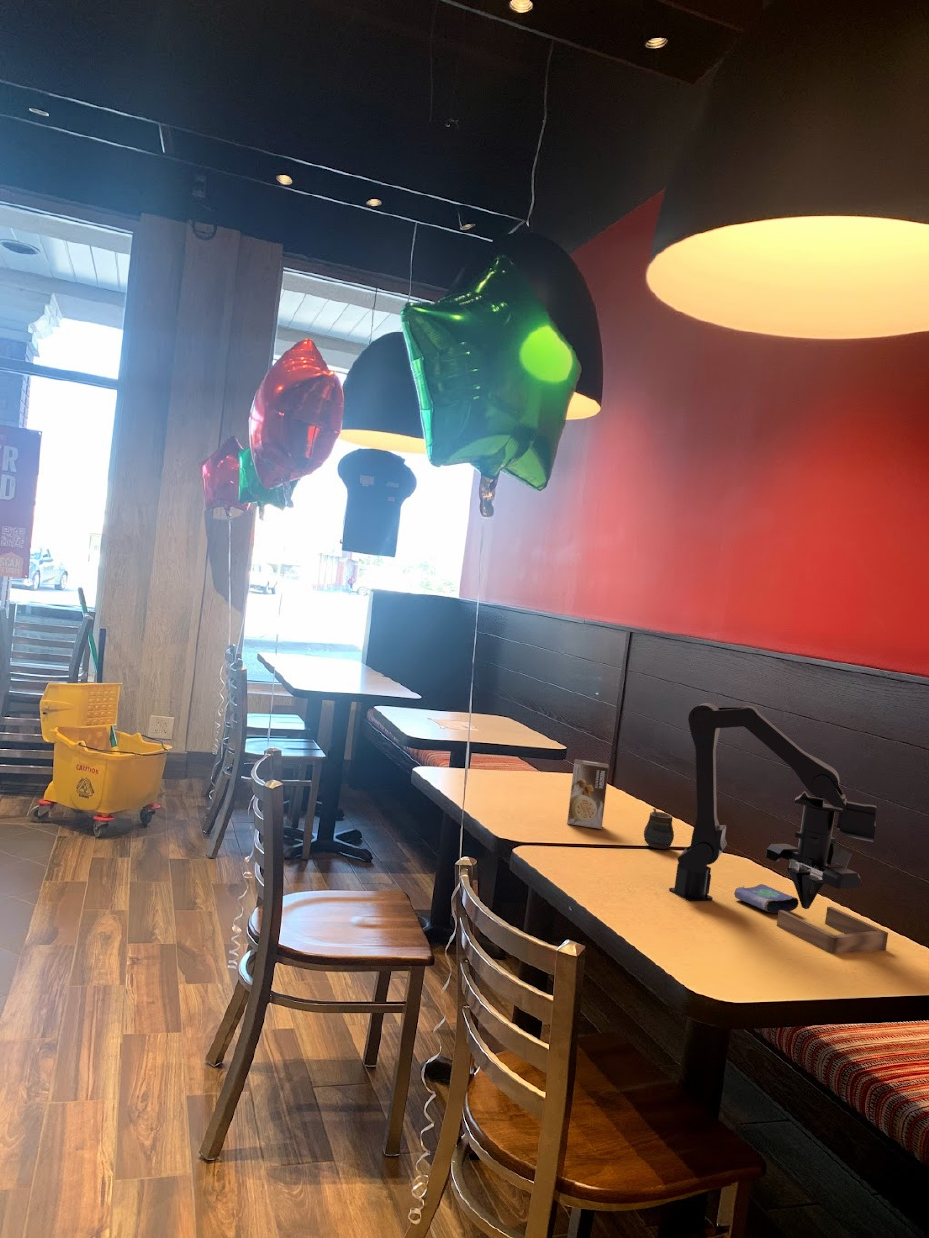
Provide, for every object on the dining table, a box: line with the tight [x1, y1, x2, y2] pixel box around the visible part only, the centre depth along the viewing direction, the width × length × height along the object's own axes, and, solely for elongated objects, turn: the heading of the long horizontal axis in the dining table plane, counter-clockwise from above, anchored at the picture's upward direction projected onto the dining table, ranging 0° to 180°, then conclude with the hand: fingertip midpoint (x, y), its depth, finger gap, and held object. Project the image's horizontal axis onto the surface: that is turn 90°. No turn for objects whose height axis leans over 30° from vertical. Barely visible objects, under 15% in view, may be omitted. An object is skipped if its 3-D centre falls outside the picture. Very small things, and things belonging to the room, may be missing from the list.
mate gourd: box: [643, 807, 675, 850], centre depth 226 cm, size 7×8×10 cm
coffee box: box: [566, 758, 610, 830], centre depth 239 cm, size 9×6×16 cm
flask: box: [733, 883, 800, 914], centre depth 189 cm, size 9×3×11 cm
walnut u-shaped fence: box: [776, 906, 889, 955], centre depth 174 cm, size 14×13×4 cm
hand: (805, 908), depth 180 cm, fingers closed
